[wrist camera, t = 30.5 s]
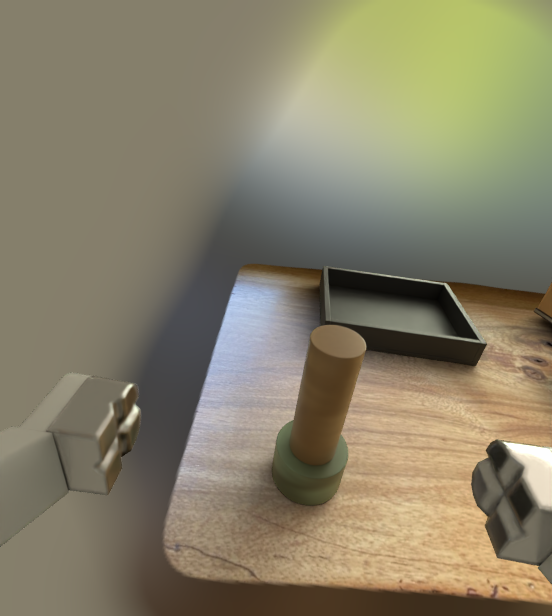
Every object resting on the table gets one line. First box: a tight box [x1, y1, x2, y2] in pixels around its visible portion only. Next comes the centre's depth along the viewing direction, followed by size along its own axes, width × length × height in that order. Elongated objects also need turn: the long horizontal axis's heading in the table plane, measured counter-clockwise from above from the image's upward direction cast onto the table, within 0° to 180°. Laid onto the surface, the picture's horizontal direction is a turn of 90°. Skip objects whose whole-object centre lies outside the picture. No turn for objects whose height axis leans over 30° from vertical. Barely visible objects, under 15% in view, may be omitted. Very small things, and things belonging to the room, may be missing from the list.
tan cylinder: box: [272, 325, 366, 505], centre depth 24 cm, size 5×5×12 cm
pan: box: [320, 266, 487, 366], centre depth 47 cm, size 17×14×3 cm
